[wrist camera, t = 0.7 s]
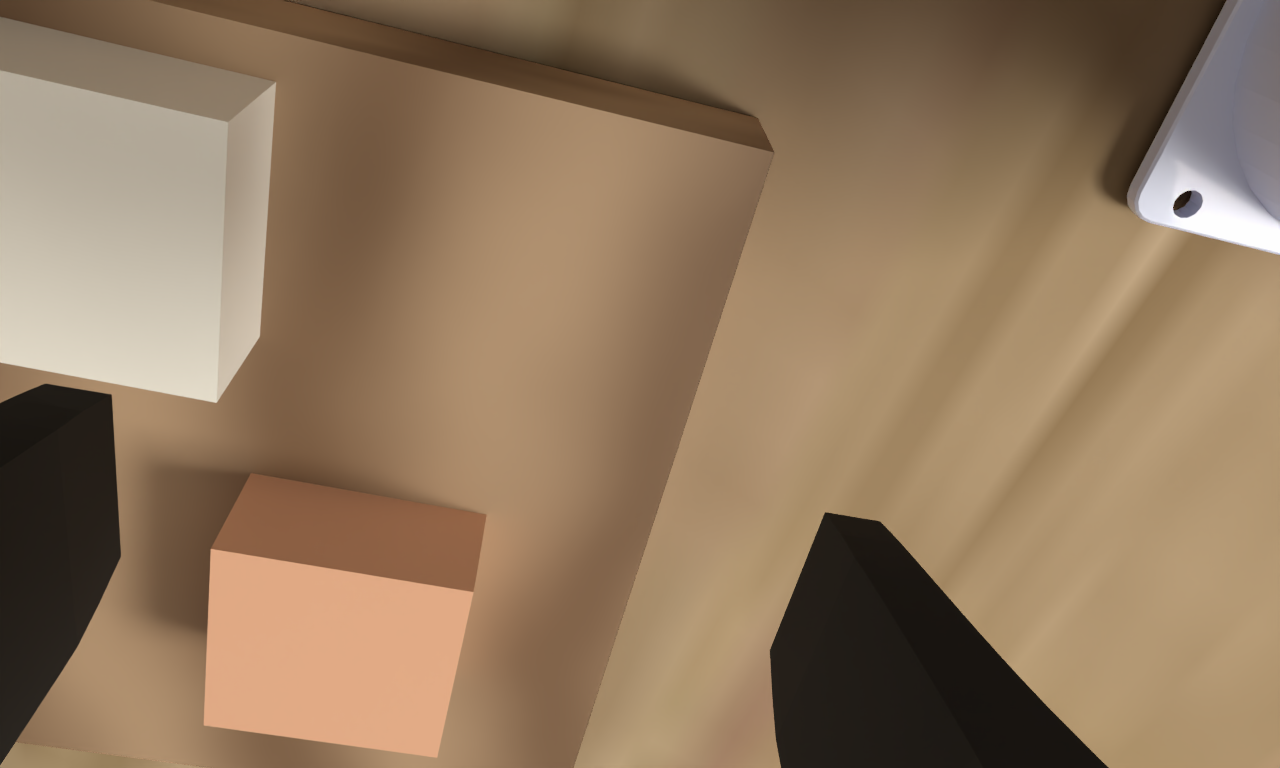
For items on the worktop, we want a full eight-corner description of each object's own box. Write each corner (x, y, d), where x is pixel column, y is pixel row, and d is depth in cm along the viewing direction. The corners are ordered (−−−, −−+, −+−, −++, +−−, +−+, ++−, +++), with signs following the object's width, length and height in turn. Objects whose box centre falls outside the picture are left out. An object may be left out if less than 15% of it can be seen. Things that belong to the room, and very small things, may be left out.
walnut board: (758, 118, 17) (774, 152, 16) (561, 746, 26) (558, 813, 24) (-25, -76, 15) (-104, -61, 14) (36, 671, 24) (-9, 738, 22)
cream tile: (276, 82, 15) (228, 122, 13) (259, 337, 17) (216, 402, 15) (-42, 7, 14) (-141, 37, 12) (-16, 282, 16) (-97, 344, 15)
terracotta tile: (486, 514, 19) (473, 592, 17) (452, 673, 21) (437, 757, 20) (251, 473, 19) (210, 549, 17) (240, 641, 21) (203, 724, 19)
